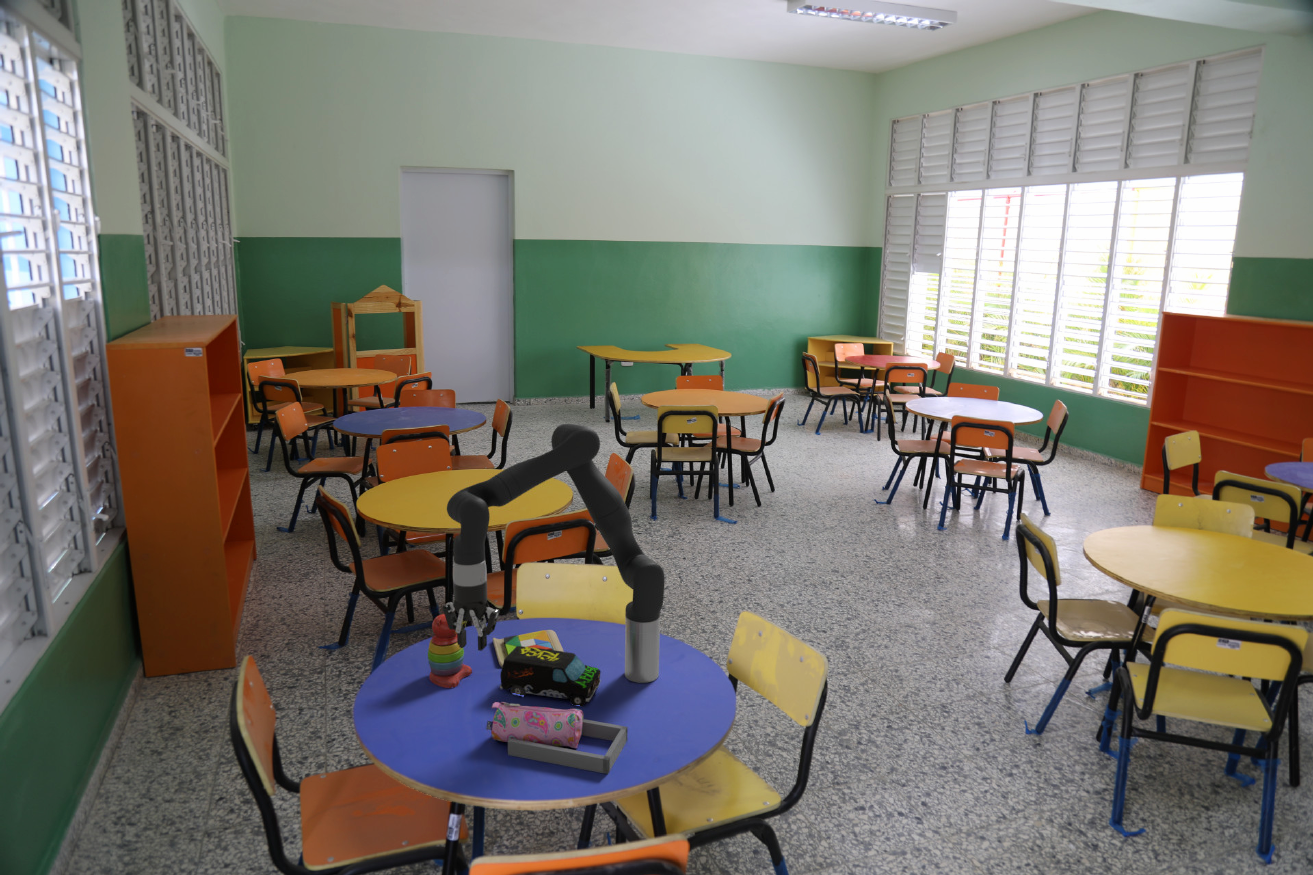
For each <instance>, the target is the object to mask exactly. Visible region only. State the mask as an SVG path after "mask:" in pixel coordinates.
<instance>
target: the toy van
mask: <svg viewBox="0 0 1313 875" xmlns="http://www.w3.org/2000/svg"><path fill="white" fill-rule="evenodd" d="M499 675H500V676H499V677H500V685H499V688H500V690H507V691H509V690H510V693H516V694H520V695H525V696H526V695H527V694H530V695H535V696H536V695H537V696H542V697H543V696H544V697H551V698H557V699H565V700H569V702H570V705H572V704H573V705H572V706H574V705H580V707H584V706H585V705H586V702H587V703H589V702H590V701H591V699H592V698H593V697H594V694H595V693H596V692H597V690H598V688H599V687H600V684H601V670H600V669H599V668H598V667H594V666H589V665H586V664H584V663H583V661H582V660H581V659H580V658H579V657H578V656H577V655H576V653H573V652H567V651H564V652H562V651H556V650H548V649H541V648H532V647H523V646H517V647H516V648H515V649H514V650H513V651H512V652H511V653H510V654H509V655H508V656H507V657H506V658H505V659H504V663H503V666H502V667H501V670H500V674H499Z"/></svg>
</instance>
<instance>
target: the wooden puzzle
mask: <svg viewBox="0 0 1313 875" xmlns="http://www.w3.org/2000/svg"><path fill="white" fill-rule="evenodd" d="M492 642H493V648H494V649H495V654H496V657H497V660H498V664H499V666H500V667H501V668H502V666H503V663H504V659H505V658H506V657H507V656H508V655H509V654H510V653H511V652H512V651H513V650H514V649H515V648H516V647H517V646H523V647H532V648H541V649H548V650H556V651H562V652H565V651H564V648H563V646H562V645H561V641H560V640H559V637H558V635H557V633H556V632H555V630H552V629H547V630H545V629H543V630H539V631H534V632H527V633H522V634H519V635H512V636H511V635H510V636H505V637H503V638H500V639H499V638H496V637H493V638H492Z"/></svg>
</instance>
